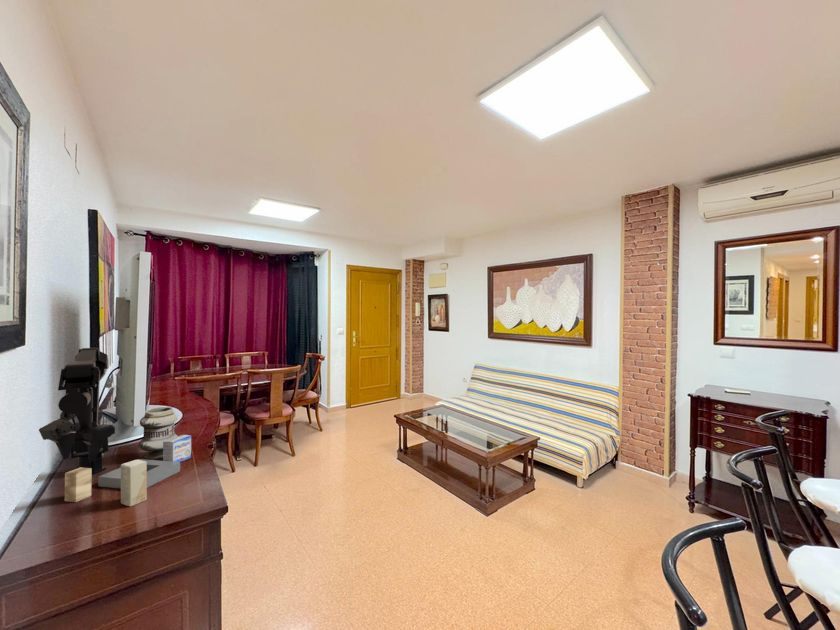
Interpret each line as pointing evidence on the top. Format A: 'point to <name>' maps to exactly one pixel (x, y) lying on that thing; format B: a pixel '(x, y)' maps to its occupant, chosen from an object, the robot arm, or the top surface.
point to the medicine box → (177, 449)
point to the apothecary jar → (157, 431)
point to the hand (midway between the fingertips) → (78, 459)
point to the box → (133, 482)
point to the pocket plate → (154, 473)
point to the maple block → (78, 484)
